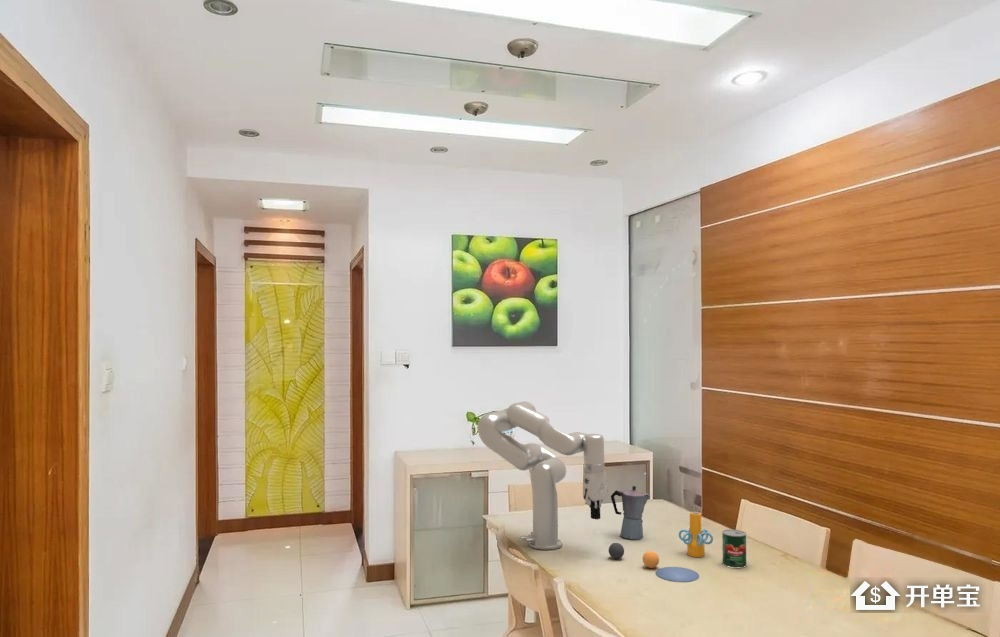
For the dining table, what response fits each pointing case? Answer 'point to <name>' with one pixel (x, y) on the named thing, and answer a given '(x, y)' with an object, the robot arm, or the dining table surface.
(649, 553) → the object ball
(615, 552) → the dark grey ball
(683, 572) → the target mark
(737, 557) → the canned tomato
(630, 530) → the moka pot
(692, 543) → the cylinder
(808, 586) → the dining table surface
